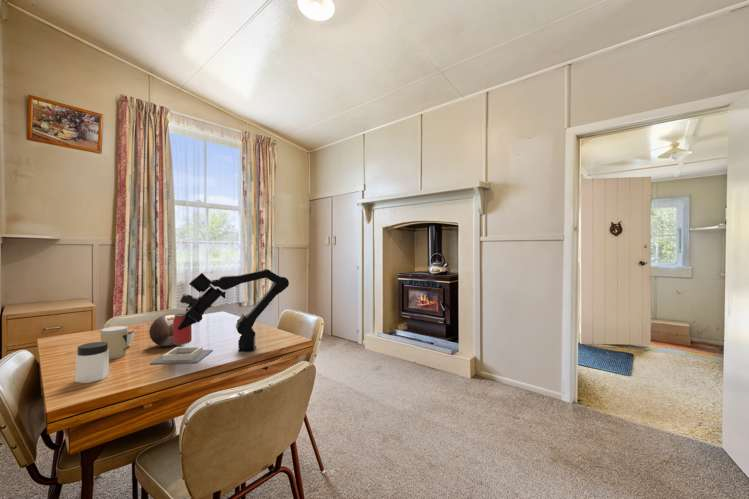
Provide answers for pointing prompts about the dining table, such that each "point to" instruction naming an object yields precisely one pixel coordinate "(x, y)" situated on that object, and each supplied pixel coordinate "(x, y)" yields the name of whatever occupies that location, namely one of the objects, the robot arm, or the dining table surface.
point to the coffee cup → (115, 340)
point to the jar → (92, 362)
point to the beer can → (183, 334)
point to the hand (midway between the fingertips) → (178, 327)
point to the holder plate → (183, 356)
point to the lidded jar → (129, 336)
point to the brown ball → (163, 330)
